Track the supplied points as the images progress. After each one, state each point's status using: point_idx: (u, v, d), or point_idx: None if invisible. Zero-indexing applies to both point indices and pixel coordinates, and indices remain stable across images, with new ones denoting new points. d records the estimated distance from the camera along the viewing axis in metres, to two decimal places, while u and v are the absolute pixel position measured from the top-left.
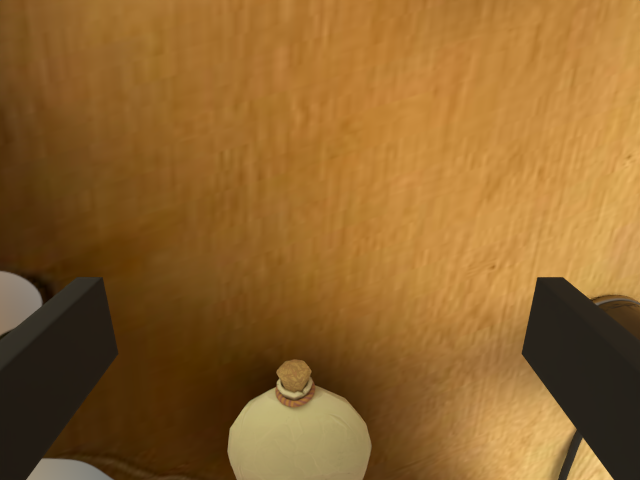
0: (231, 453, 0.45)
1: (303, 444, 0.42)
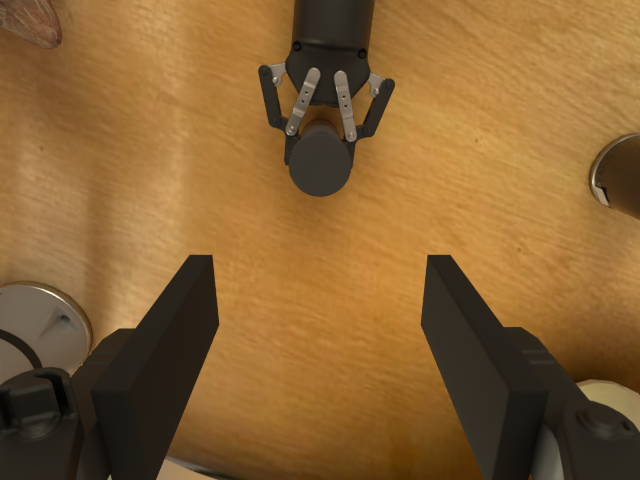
0: None
1: None
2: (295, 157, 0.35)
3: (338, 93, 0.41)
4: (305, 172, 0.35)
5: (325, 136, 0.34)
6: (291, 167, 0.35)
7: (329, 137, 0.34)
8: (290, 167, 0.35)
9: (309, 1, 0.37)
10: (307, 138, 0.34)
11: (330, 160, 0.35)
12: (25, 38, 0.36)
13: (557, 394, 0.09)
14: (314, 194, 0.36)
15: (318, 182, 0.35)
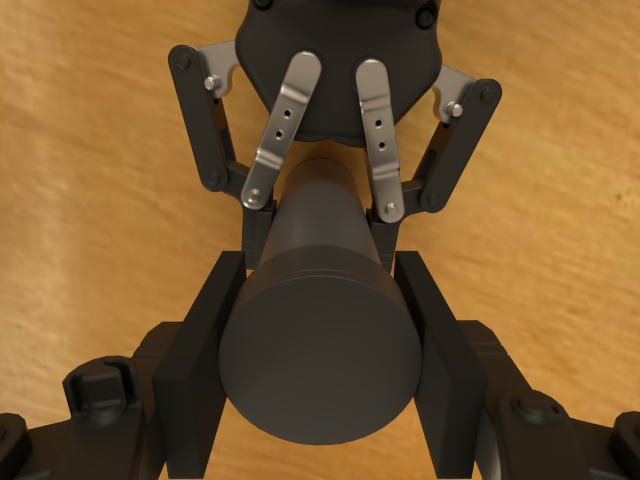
0: None
1: None
2: (238, 343, 0.10)
3: (365, 115, 0.17)
4: (274, 385, 0.11)
5: (339, 281, 0.10)
6: (226, 371, 0.11)
7: (353, 284, 0.10)
8: (223, 371, 0.11)
9: None
10: (276, 287, 0.10)
11: (355, 350, 0.10)
12: None
13: (501, 383, 0.09)
14: (303, 440, 0.11)
15: (315, 410, 0.11)
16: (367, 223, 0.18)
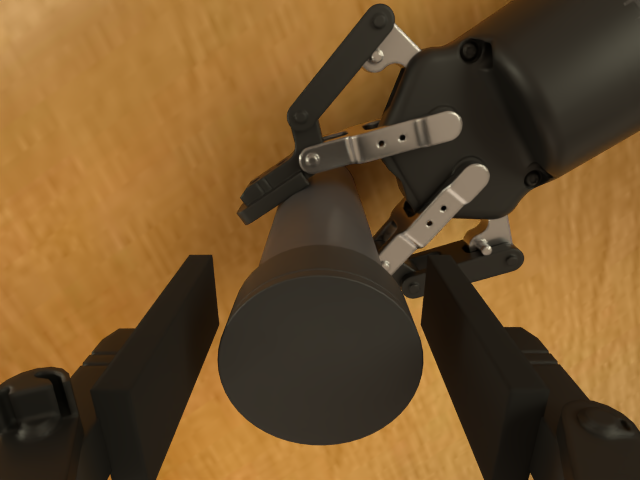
0: None
1: None
2: (255, 409, 0.11)
3: (442, 194, 0.18)
4: (313, 408, 0.11)
5: (244, 310, 0.10)
6: (276, 430, 0.11)
7: (253, 301, 0.10)
8: (274, 432, 0.11)
9: (594, 8, 0.15)
10: (221, 355, 0.10)
11: (322, 333, 0.10)
12: None
13: (557, 394, 0.09)
14: (387, 419, 0.11)
15: (362, 394, 0.11)
16: None
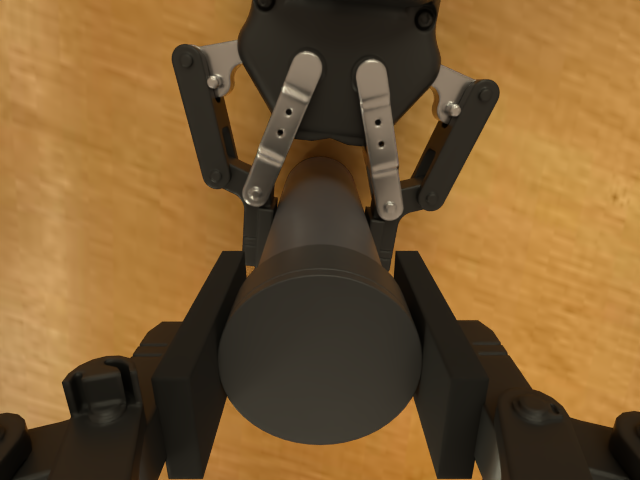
0: None
1: None
2: (316, 433, 0.11)
3: (365, 114, 0.17)
4: (353, 398, 0.11)
5: (223, 378, 0.11)
6: (349, 435, 0.11)
7: (221, 367, 0.11)
8: (350, 437, 0.11)
9: None
10: (250, 418, 0.11)
11: (288, 344, 0.10)
12: None
13: (501, 383, 0.09)
14: (417, 358, 0.10)
15: (373, 358, 0.10)
16: (366, 220, 0.19)
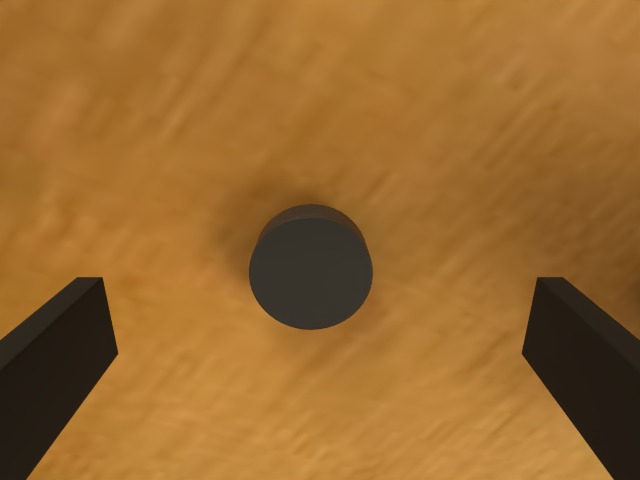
0: None
1: None
2: (309, 321, 0.18)
3: None
4: (331, 296, 0.18)
5: (252, 283, 0.18)
6: (329, 322, 0.18)
7: (251, 276, 0.18)
8: (330, 324, 0.18)
9: None
10: (268, 311, 0.18)
11: (292, 261, 0.17)
12: None
13: None
14: (369, 269, 0.18)
15: (342, 269, 0.18)
16: None
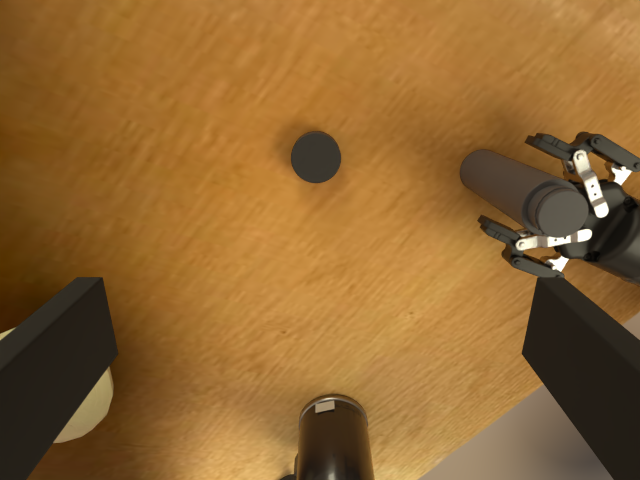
0: None
1: None
2: (315, 179, 0.45)
3: None
4: (324, 167, 0.44)
5: (292, 161, 0.44)
6: (323, 179, 0.45)
7: (292, 158, 0.44)
8: (323, 180, 0.45)
9: None
10: (298, 174, 0.44)
11: (308, 152, 0.44)
12: None
13: None
14: (339, 155, 0.44)
15: (328, 155, 0.44)
16: None
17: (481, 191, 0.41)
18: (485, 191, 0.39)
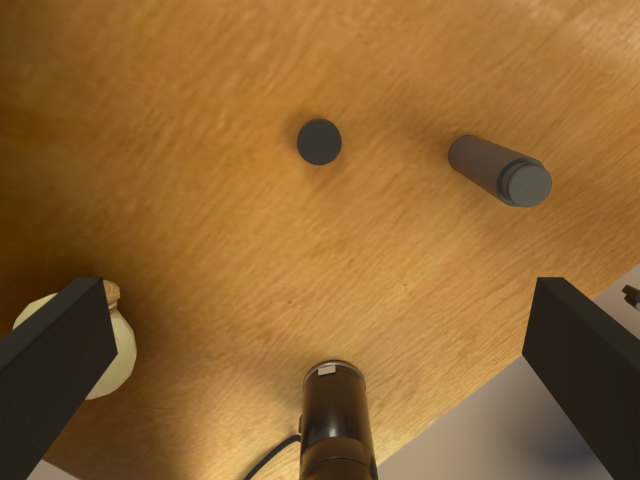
0: (18, 321, 0.52)
1: None
2: (318, 161, 0.50)
3: None
4: (326, 151, 0.49)
5: (298, 145, 0.49)
6: (326, 162, 0.50)
7: (298, 142, 0.49)
8: (326, 162, 0.50)
9: None
10: (303, 157, 0.50)
11: (312, 137, 0.49)
12: None
13: None
14: (340, 140, 0.49)
15: (330, 140, 0.49)
16: None
17: (465, 171, 0.46)
18: (468, 171, 0.45)
